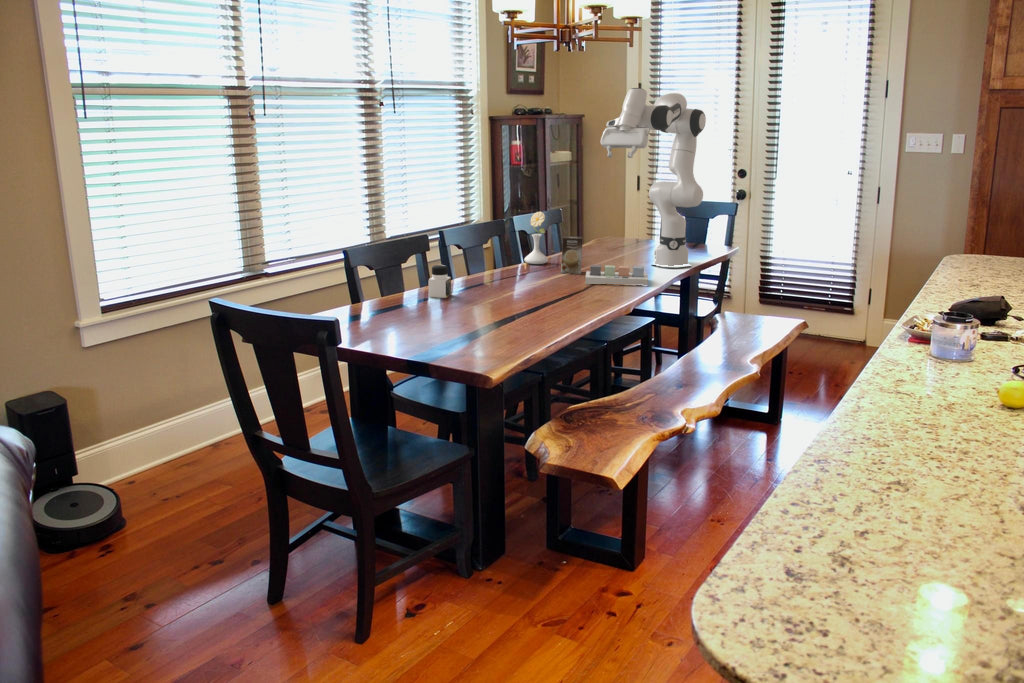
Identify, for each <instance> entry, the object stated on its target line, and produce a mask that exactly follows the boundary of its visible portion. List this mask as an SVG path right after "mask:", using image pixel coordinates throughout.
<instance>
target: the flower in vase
mask: <svg viewBox="0 0 1024 683" xmlns="http://www.w3.org/2000/svg"><path fill="white" fill-rule="evenodd" d="M544 221H546V215H545V214H544V212H542V211H536V212H535V213H533V214H532V216H531V217H530V226H532V229H533V230H534V231H535V232H536V233H532V234H531V237H532V238H533V250H532V251H531V252H529V254H527V255H526V256H525V257H524V259H523V260H524V262H525V263H527V264H529V265H530V264H531V265H543V264H546V263H548V262H549V259H548V257H547V256H546V255H545V254H544V253H543V252H541V250H540V239H541V237H542V236H543V234H545V233H546V230H545V228H544V227H542V224H543V223H544ZM537 227H540V228H539V230H538V229H536V228H537Z"/></svg>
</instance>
